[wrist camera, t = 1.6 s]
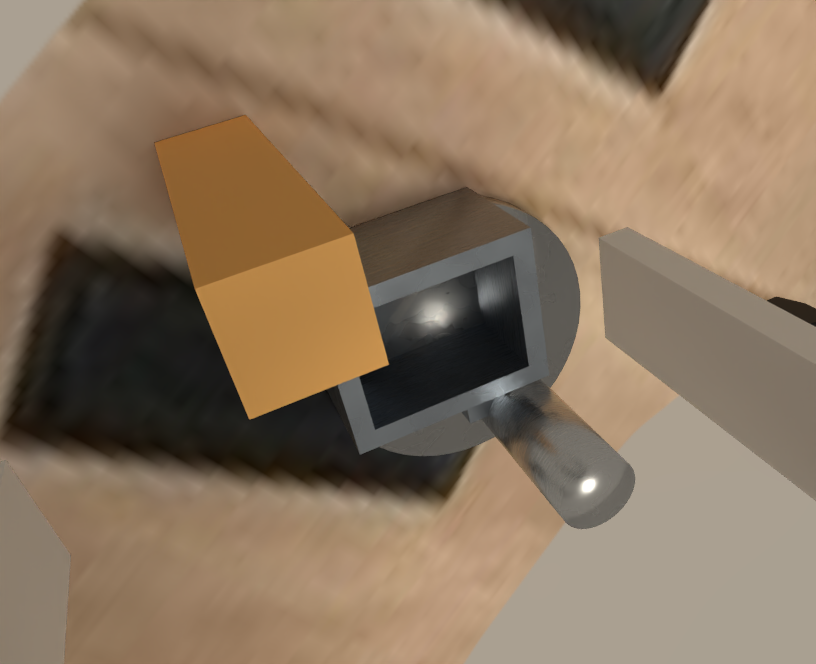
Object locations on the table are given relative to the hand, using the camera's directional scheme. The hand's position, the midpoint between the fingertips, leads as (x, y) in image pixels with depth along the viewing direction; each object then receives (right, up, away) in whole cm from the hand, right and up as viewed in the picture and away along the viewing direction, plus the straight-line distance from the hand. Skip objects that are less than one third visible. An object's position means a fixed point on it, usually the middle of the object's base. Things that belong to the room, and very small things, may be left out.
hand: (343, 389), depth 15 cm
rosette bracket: (+4, +1, +24) cm, 24 cm away
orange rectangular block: (-7, +8, +16) cm, 19 cm away
